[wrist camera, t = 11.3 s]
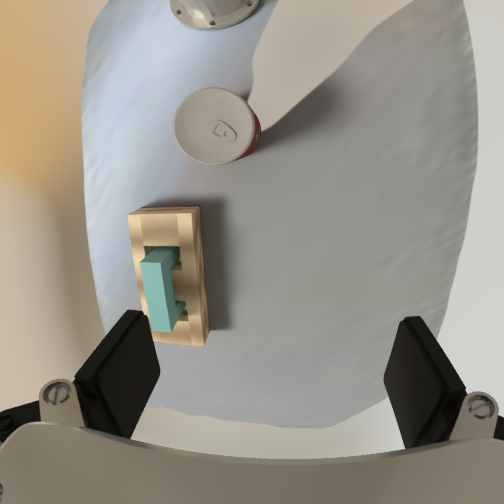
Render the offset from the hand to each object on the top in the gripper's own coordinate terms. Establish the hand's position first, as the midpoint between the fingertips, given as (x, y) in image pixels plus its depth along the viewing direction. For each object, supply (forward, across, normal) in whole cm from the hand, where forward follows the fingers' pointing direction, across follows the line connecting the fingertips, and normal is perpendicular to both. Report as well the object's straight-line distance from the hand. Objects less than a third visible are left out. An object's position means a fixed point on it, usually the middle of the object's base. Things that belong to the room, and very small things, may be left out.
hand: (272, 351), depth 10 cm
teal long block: (+29, +15, +11) cm, 35 cm away
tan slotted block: (+30, +15, +11) cm, 36 cm away
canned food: (+31, +6, -9) cm, 32 cm away
